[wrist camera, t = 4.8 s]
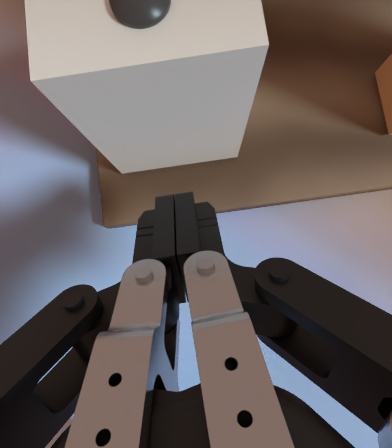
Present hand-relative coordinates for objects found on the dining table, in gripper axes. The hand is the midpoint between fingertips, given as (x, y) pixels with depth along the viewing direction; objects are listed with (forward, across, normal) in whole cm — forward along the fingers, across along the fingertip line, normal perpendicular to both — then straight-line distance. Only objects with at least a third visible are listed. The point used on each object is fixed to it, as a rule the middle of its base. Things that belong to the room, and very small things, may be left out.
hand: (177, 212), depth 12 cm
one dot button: (+8, 0, 0) cm, 8 cm away
